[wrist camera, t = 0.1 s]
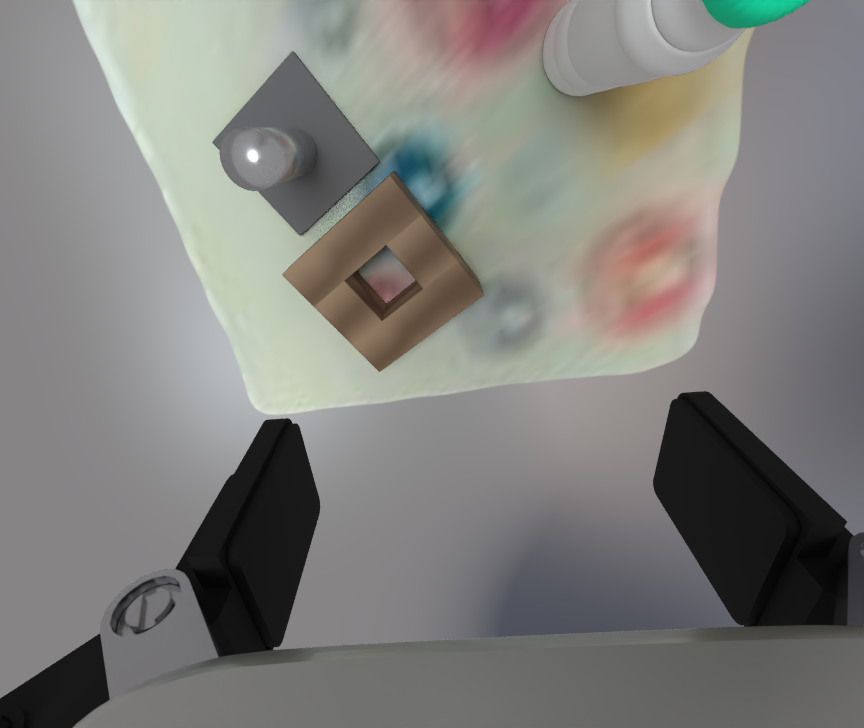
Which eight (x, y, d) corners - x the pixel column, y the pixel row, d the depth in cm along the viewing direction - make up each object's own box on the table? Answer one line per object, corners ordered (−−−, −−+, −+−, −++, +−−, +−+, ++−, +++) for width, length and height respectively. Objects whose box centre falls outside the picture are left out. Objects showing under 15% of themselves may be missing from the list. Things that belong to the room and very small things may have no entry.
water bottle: (635, 6, 36) (959, -188, 14) (606, 103, 39) (829, 71, 17) (554, -12, 35) (757, -242, 13) (531, 89, 39) (663, 37, 17)
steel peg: (265, 148, 40) (208, 155, 30) (295, 117, 39) (245, 113, 29) (297, 184, 42) (253, 202, 31) (326, 155, 41) (290, 164, 30)
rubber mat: (214, 142, 41) (212, 142, 40) (294, 52, 37) (292, 51, 37) (301, 234, 45) (300, 235, 44) (379, 160, 41) (379, 161, 41)
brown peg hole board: (295, 260, 46) (281, 274, 42) (394, 170, 42) (389, 175, 37) (383, 351, 51) (379, 372, 47) (478, 279, 47) (483, 294, 43)
